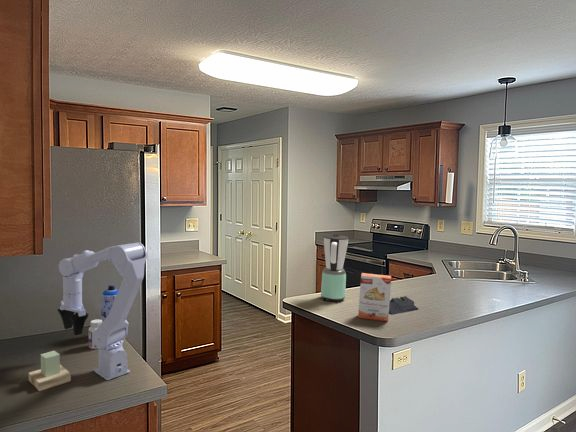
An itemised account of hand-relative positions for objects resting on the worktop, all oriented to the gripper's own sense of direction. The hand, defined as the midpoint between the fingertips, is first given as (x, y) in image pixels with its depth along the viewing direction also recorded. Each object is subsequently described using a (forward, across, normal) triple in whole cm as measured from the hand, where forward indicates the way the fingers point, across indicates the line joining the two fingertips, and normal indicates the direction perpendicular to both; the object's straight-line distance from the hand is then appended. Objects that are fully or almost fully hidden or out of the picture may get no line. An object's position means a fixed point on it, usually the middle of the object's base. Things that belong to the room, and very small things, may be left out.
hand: (73, 331), depth 147 cm
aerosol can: (+11, -13, +20) cm, 26 cm away
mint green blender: (+11, +21, +127) cm, 129 cm away
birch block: (+11, +9, -11) cm, 18 cm away
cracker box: (+11, +51, +117) cm, 128 cm away
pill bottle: (+11, -6, +11) cm, 16 cm away
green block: (+8, +9, -11) cm, 16 cm away
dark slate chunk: (+11, +51, +140) cm, 150 cm away
